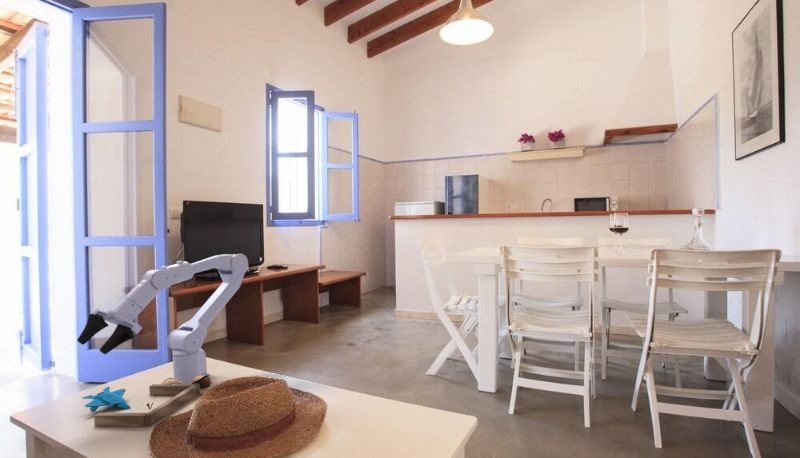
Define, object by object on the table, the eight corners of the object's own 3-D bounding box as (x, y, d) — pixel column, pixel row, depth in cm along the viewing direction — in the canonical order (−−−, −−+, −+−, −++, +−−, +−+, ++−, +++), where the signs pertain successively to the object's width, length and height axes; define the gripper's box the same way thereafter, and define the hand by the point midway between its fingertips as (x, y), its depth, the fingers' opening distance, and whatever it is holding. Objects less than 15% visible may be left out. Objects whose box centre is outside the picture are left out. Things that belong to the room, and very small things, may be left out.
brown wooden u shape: (153, 392, 113) (153, 384, 113) (200, 392, 111) (199, 383, 111) (94, 426, 94) (94, 415, 94) (149, 426, 93) (148, 415, 93)
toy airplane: (77, 419, 99) (76, 403, 99) (91, 403, 108) (90, 388, 108) (131, 409, 103) (130, 394, 103) (140, 395, 112) (140, 380, 112)
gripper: (105, 288, 108) (60, 330, 99) (146, 304, 104) (104, 349, 96) (118, 302, 113) (77, 343, 104) (158, 318, 110) (119, 362, 101)
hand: (91, 347), depth 100 cm, fingers open, 7 cm apart
